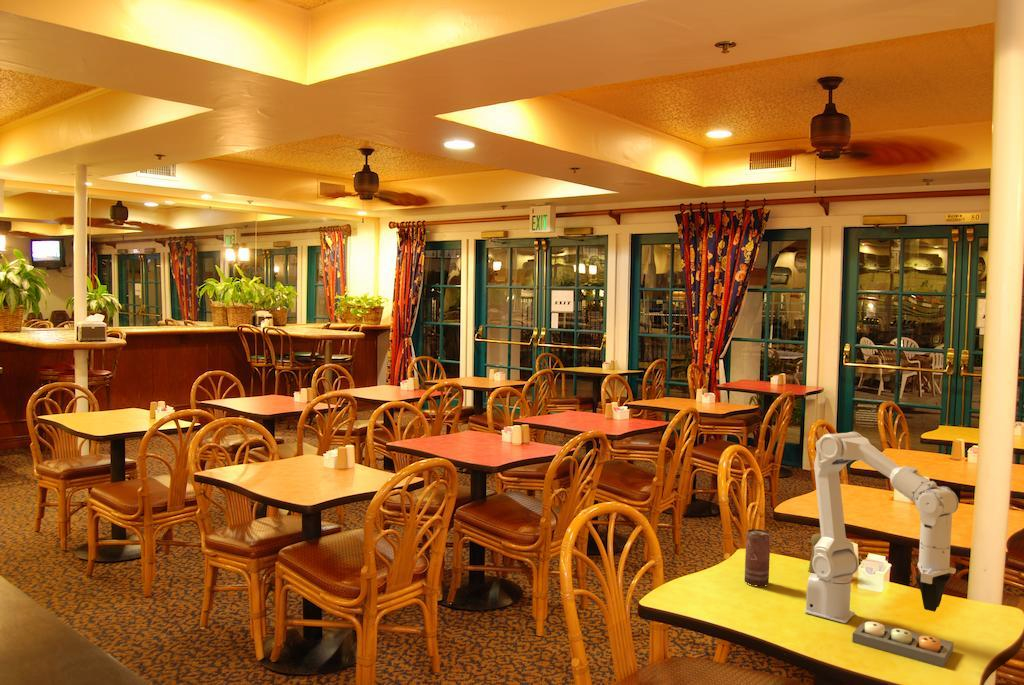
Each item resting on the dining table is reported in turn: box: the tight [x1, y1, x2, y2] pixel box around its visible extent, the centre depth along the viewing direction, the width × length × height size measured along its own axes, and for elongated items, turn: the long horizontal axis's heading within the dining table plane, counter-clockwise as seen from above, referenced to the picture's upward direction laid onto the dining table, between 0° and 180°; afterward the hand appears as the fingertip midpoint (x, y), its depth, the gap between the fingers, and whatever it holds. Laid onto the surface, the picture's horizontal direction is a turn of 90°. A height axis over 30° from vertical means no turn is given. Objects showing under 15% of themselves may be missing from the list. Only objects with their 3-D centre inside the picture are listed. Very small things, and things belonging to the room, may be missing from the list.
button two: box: [891, 628, 912, 645], centre depth 169 cm, size 4×4×2 cm
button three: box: [919, 635, 941, 653], centre depth 165 cm, size 4×4×2 cm
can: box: [744, 528, 771, 587], centre depth 206 cm, size 6×6×14 cm
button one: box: [864, 621, 885, 638], centre depth 172 cm, size 4×4×2 cm
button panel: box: [851, 619, 955, 668], centre depth 170 cm, size 18×10×2 cm, turn 51°
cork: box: [807, 533, 821, 574], centre depth 216 cm, size 6×6×11 cm
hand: (931, 607), depth 165 cm, fingers open, 3 cm apart
